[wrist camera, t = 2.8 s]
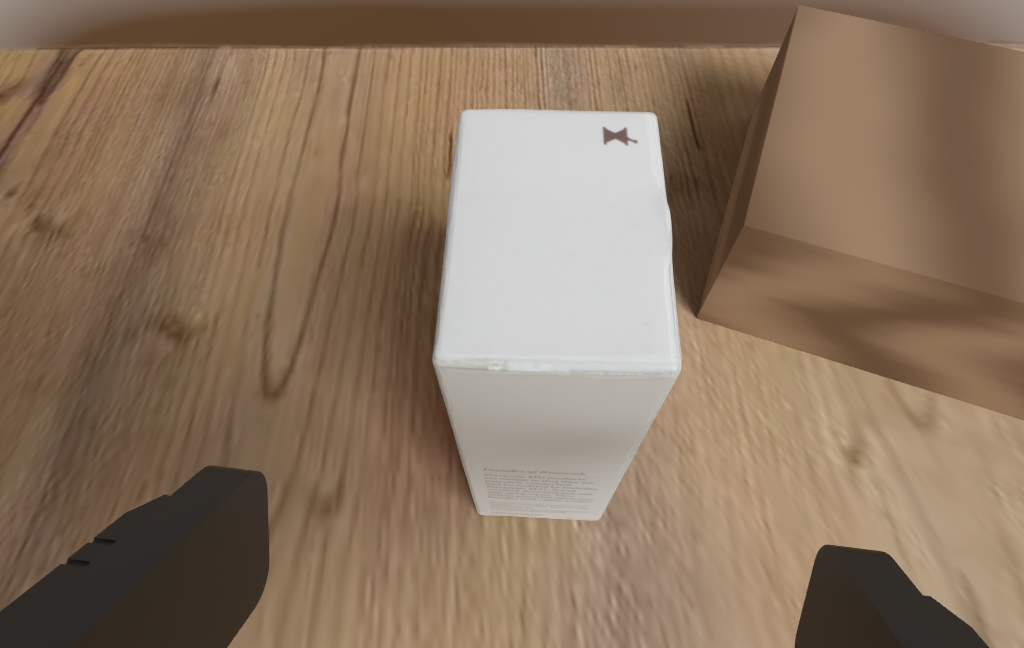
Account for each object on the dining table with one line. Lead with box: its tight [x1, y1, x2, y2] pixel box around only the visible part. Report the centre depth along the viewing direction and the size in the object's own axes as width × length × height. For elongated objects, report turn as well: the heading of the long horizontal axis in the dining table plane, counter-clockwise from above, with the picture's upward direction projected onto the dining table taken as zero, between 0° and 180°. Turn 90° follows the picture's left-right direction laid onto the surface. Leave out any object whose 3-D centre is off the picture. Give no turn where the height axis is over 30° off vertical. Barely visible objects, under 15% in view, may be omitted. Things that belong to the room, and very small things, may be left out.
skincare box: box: [432, 109, 682, 521], centre depth 16 cm, size 6×4×12 cm
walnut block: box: [697, 5, 1024, 420], centre depth 23 cm, size 12×12×6 cm
